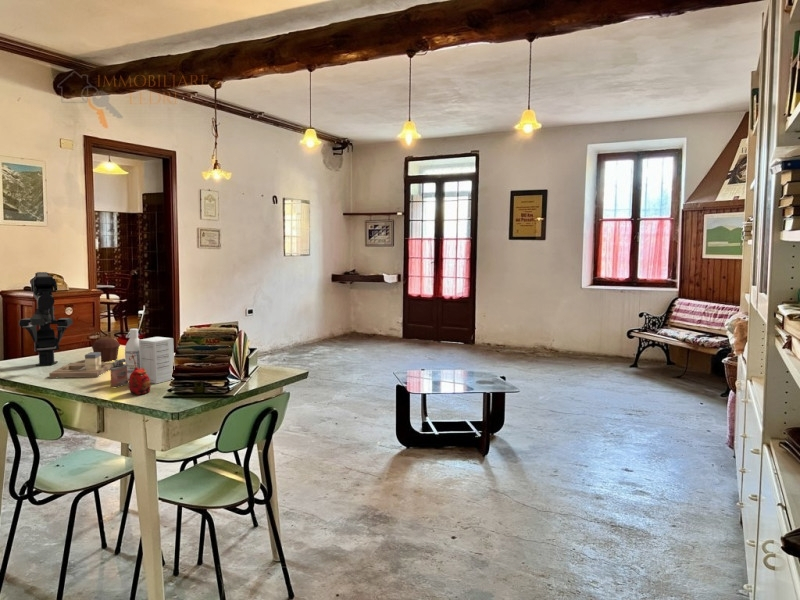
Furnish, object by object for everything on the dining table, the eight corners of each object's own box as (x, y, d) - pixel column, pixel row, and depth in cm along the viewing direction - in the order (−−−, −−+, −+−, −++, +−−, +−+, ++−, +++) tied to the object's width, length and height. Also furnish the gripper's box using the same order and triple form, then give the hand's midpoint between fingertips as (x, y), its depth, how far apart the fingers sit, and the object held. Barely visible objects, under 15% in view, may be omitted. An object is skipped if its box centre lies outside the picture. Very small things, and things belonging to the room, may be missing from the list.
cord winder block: (91, 370, 233) (90, 352, 232) (101, 370, 233) (100, 352, 233) (85, 374, 227) (84, 355, 226) (95, 373, 227) (95, 354, 227)
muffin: (88, 362, 247) (87, 341, 246) (96, 357, 258) (95, 336, 257) (117, 361, 250) (116, 340, 249) (123, 357, 261) (122, 336, 260)
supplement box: (175, 379, 221) (174, 338, 219) (156, 384, 213) (155, 341, 211) (158, 376, 225) (157, 335, 223) (139, 381, 217) (138, 339, 215)
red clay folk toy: (141, 396, 196) (140, 355, 194) (124, 395, 197) (122, 354, 195) (154, 390, 203) (153, 351, 202) (137, 389, 204) (136, 350, 203)
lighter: (116, 388, 206) (115, 362, 205) (108, 387, 207) (107, 361, 206) (130, 382, 214) (129, 357, 213) (123, 382, 214) (122, 357, 213)
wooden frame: (70, 367, 238) (70, 362, 237) (114, 366, 240) (114, 362, 240) (49, 378, 219) (49, 373, 219) (97, 377, 222) (97, 372, 221)
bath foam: (144, 378, 221) (143, 329, 219) (125, 380, 218) (124, 330, 216) (144, 374, 227) (143, 327, 225) (126, 376, 224) (124, 328, 222)
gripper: (10, 308, 220) (12, 346, 222) (60, 308, 223) (62, 345, 224) (25, 304, 231) (26, 341, 233) (72, 305, 234) (74, 340, 235)
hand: (47, 342), depth 231 cm, fingers open, 9 cm apart
